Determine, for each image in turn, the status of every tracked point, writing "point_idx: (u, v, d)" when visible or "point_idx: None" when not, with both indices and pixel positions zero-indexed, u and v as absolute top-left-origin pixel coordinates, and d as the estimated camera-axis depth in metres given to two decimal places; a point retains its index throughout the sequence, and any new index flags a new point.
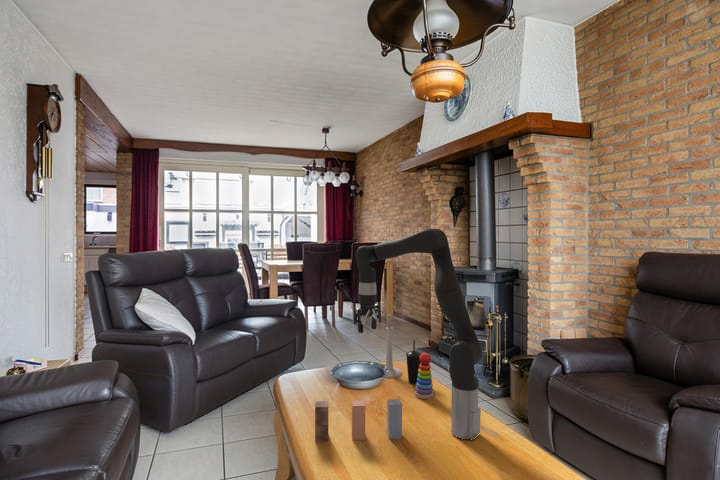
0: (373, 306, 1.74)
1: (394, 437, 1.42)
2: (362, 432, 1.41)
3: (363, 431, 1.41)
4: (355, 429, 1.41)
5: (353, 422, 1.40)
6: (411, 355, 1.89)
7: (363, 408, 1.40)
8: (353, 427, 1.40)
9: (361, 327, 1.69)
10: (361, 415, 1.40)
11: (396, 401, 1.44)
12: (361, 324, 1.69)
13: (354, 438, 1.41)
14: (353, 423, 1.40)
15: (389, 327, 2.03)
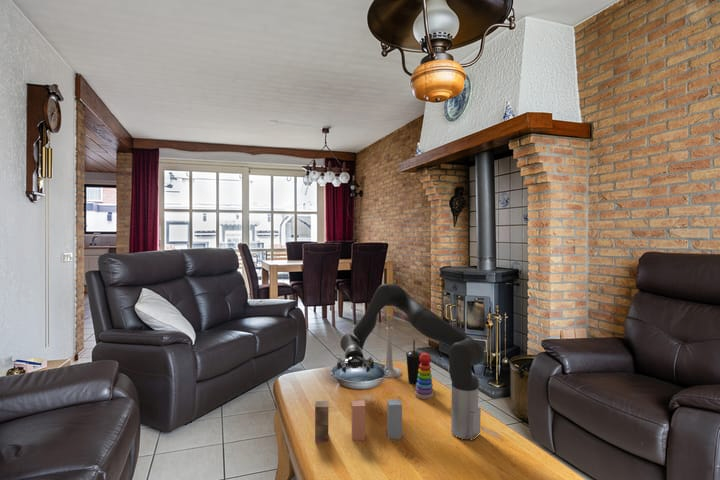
0: (361, 357, 1.64)
1: (394, 437, 1.42)
2: (362, 432, 1.41)
3: (363, 431, 1.41)
4: (355, 429, 1.41)
5: (353, 422, 1.40)
6: (411, 355, 1.89)
7: (363, 408, 1.40)
8: (353, 427, 1.40)
9: (343, 366, 1.55)
10: (361, 415, 1.40)
11: (396, 401, 1.44)
12: (343, 364, 1.57)
13: (354, 438, 1.41)
14: (353, 423, 1.40)
15: (389, 327, 2.03)
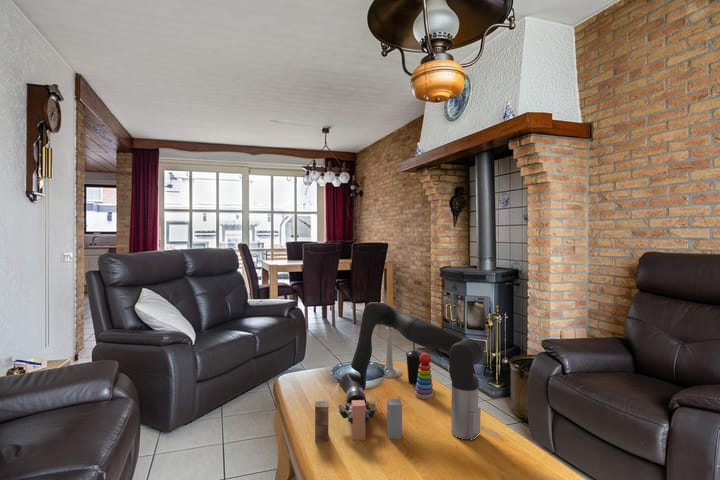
0: None
1: (394, 437, 1.42)
2: (362, 432, 1.41)
3: (363, 431, 1.41)
4: (355, 429, 1.41)
5: (353, 422, 1.40)
6: (411, 355, 1.89)
7: (363, 408, 1.40)
8: (353, 427, 1.40)
9: (350, 415, 1.42)
10: (361, 415, 1.40)
11: (396, 401, 1.44)
12: (349, 414, 1.43)
13: (354, 438, 1.41)
14: (353, 423, 1.40)
15: (389, 327, 2.03)
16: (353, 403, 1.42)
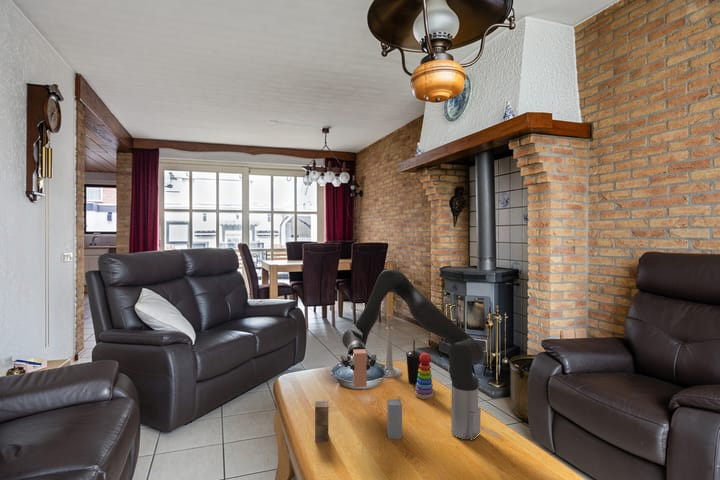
0: None
1: (394, 437, 1.42)
2: (364, 379, 1.44)
3: (364, 378, 1.44)
4: (357, 376, 1.44)
5: (355, 369, 1.44)
6: (411, 355, 1.89)
7: (364, 356, 1.44)
8: (355, 374, 1.44)
9: (351, 363, 1.46)
10: (362, 362, 1.44)
11: (396, 401, 1.44)
12: (351, 362, 1.47)
13: (356, 385, 1.44)
14: (355, 370, 1.44)
15: (389, 327, 2.03)
16: (355, 351, 1.46)
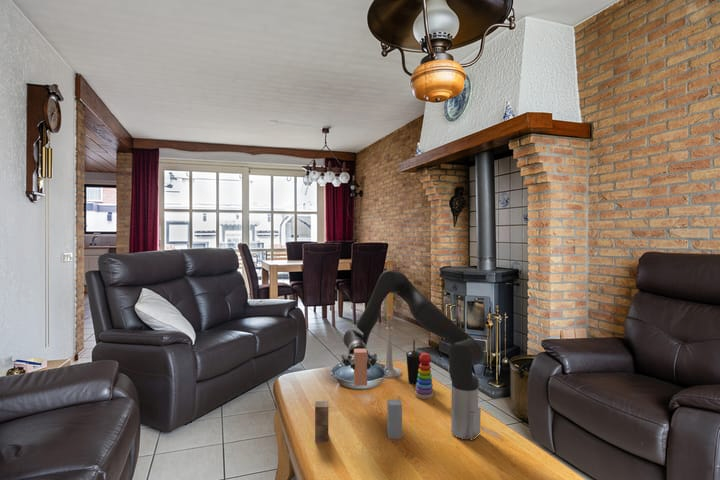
0: None
1: (394, 437, 1.42)
2: (364, 378, 1.45)
3: (365, 377, 1.45)
4: (357, 375, 1.45)
5: (355, 368, 1.45)
6: (411, 355, 1.89)
7: (365, 355, 1.45)
8: (355, 373, 1.45)
9: (352, 362, 1.47)
10: (363, 361, 1.45)
11: (396, 401, 1.44)
12: None
13: (356, 384, 1.45)
14: (355, 369, 1.45)
15: (389, 327, 2.03)
16: (355, 350, 1.47)
